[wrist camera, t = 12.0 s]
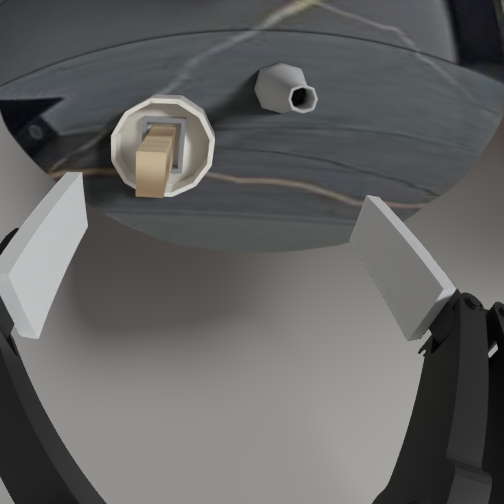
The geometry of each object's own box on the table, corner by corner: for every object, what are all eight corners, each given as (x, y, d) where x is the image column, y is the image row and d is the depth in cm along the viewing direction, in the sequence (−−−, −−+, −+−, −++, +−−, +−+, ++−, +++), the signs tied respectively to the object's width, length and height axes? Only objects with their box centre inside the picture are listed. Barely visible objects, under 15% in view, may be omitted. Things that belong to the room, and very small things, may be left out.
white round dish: (119, 94, 33) (112, 98, 30) (218, 98, 35) (219, 102, 33) (118, 183, 40) (112, 194, 38) (207, 187, 43) (207, 198, 40)
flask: (254, 114, 38) (268, 133, 30) (252, 63, 33) (266, 65, 25) (307, 112, 38) (334, 131, 30) (307, 62, 34) (336, 67, 26)
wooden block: (153, 125, 36) (136, 151, 27) (176, 126, 36) (166, 152, 28) (151, 160, 38) (135, 196, 30) (173, 161, 39) (163, 197, 30)
